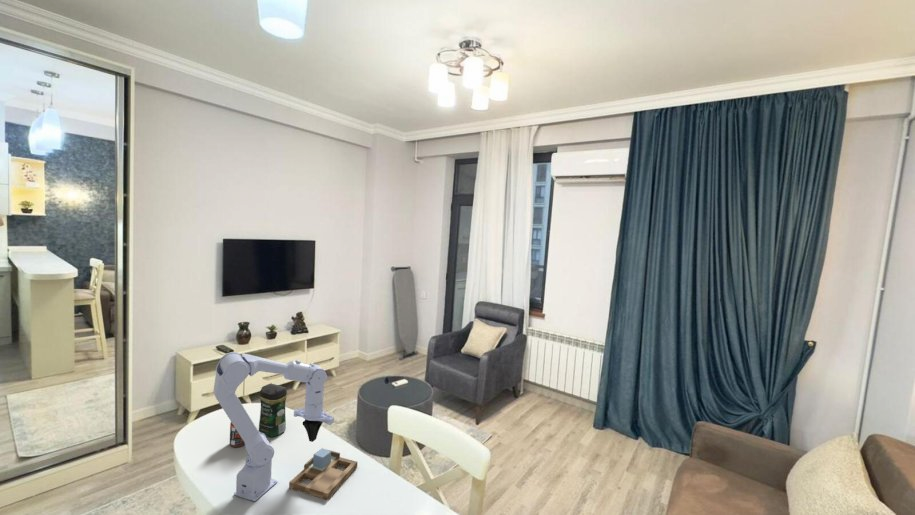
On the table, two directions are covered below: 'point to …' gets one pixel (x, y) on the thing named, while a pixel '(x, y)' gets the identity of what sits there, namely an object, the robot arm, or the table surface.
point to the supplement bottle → (235, 437)
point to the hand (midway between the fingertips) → (312, 440)
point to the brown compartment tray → (323, 477)
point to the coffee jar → (272, 410)
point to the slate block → (322, 458)
